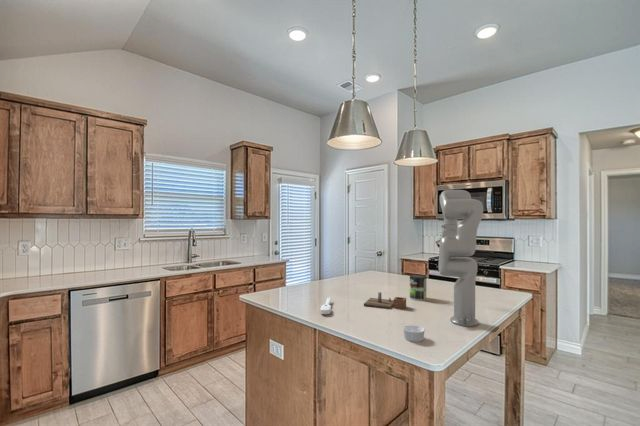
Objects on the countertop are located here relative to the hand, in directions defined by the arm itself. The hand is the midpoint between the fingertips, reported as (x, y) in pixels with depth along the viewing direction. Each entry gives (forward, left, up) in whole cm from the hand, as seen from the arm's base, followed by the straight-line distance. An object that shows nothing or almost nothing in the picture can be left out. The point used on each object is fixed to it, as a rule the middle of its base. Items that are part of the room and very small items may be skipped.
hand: (450, 255), depth 194 cm
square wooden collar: (-23, +26, -28) cm, 45 cm away
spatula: (-43, +63, -28) cm, 81 cm away
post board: (-23, +38, -28) cm, 52 cm away
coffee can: (0, +19, -28) cm, 34 cm away
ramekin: (-69, +13, -28) cm, 76 cm away
